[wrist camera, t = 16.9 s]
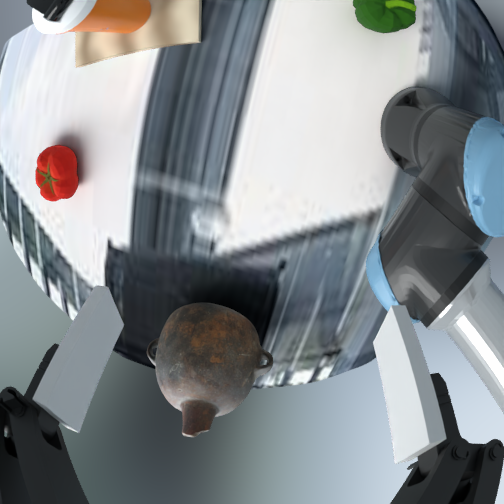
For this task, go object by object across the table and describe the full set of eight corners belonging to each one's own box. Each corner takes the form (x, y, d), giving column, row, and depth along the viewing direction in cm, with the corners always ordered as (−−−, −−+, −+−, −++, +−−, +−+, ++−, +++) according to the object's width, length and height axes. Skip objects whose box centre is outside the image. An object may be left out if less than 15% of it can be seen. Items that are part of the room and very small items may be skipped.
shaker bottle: (128, -16, 24) (46, -44, 7) (168, 1, 27) (94, -36, 10) (97, 28, 28) (7, 25, 12) (134, 47, 31) (46, 44, 15)
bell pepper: (336, 18, 28) (353, 3, 20) (357, -17, 24) (378, -38, 15) (384, 47, 30) (413, 42, 22) (404, 13, 25) (435, 2, 17)
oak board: (203, -32, 24) (200, -35, 23) (201, 42, 32) (198, 41, 31) (82, 0, 25) (77, -1, 24) (80, 67, 33) (75, 67, 32)
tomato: (83, 142, 42) (62, 153, 36) (85, 194, 48) (67, 210, 43) (48, 140, 41) (26, 151, 36) (52, 189, 48) (33, 203, 42)
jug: (200, 352, 73) (178, 453, 49) (150, 300, 63) (104, 413, 39) (283, 332, 66) (281, 453, 41) (240, 268, 55) (215, 415, 31)
